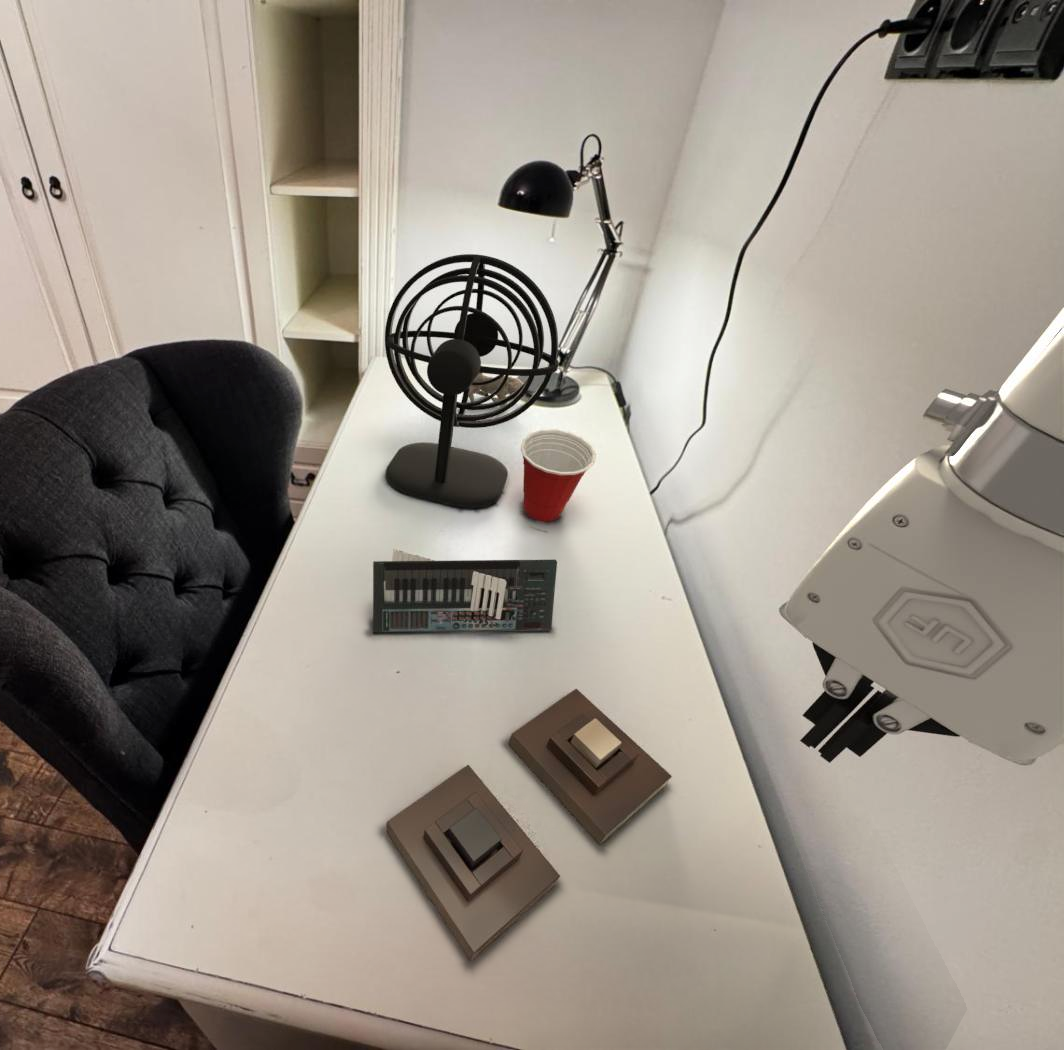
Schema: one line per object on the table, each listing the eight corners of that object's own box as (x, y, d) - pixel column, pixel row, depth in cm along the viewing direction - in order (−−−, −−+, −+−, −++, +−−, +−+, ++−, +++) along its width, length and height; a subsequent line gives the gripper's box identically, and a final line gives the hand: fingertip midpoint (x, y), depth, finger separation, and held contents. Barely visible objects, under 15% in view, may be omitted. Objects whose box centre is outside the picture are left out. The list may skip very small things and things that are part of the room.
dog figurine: (463, 405, 118) (468, 371, 113) (467, 392, 122) (472, 360, 118) (522, 413, 116) (529, 379, 111) (524, 400, 120) (531, 367, 115)
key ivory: (616, 751, 56) (622, 742, 55) (595, 768, 55) (600, 759, 54) (590, 726, 58) (595, 717, 57) (569, 742, 57) (574, 733, 56)
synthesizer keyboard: (558, 555, 70) (555, 589, 62) (551, 625, 74) (547, 666, 65) (392, 537, 78) (367, 565, 69) (392, 601, 81) (369, 636, 72)
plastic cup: (508, 529, 88) (523, 465, 80) (506, 488, 96) (519, 426, 88) (581, 536, 87) (602, 472, 79) (572, 494, 95) (591, 432, 87)
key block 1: (555, 884, 51) (565, 868, 48) (470, 961, 46) (477, 947, 44) (465, 774, 58) (470, 755, 56) (385, 831, 54) (387, 812, 51)
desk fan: (536, 466, 101) (586, 256, 79) (516, 524, 89) (569, 294, 66) (393, 434, 109) (402, 235, 87) (357, 484, 97) (356, 267, 74)
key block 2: (664, 786, 57) (678, 767, 55) (599, 845, 53) (611, 827, 51) (571, 699, 65) (580, 678, 62) (508, 744, 61) (514, 724, 58)
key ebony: (498, 847, 50) (502, 838, 48) (471, 869, 48) (473, 861, 47) (474, 815, 52) (476, 806, 51) (447, 835, 50) (449, 827, 49)
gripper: (823, 415, 24) (668, 676, 35) (1465, 666, 14) (960, 908, 26) (901, 372, 27) (735, 625, 39) (1468, 553, 17) (1017, 815, 29)
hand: (826, 738), depth 32 cm, fingers closed
